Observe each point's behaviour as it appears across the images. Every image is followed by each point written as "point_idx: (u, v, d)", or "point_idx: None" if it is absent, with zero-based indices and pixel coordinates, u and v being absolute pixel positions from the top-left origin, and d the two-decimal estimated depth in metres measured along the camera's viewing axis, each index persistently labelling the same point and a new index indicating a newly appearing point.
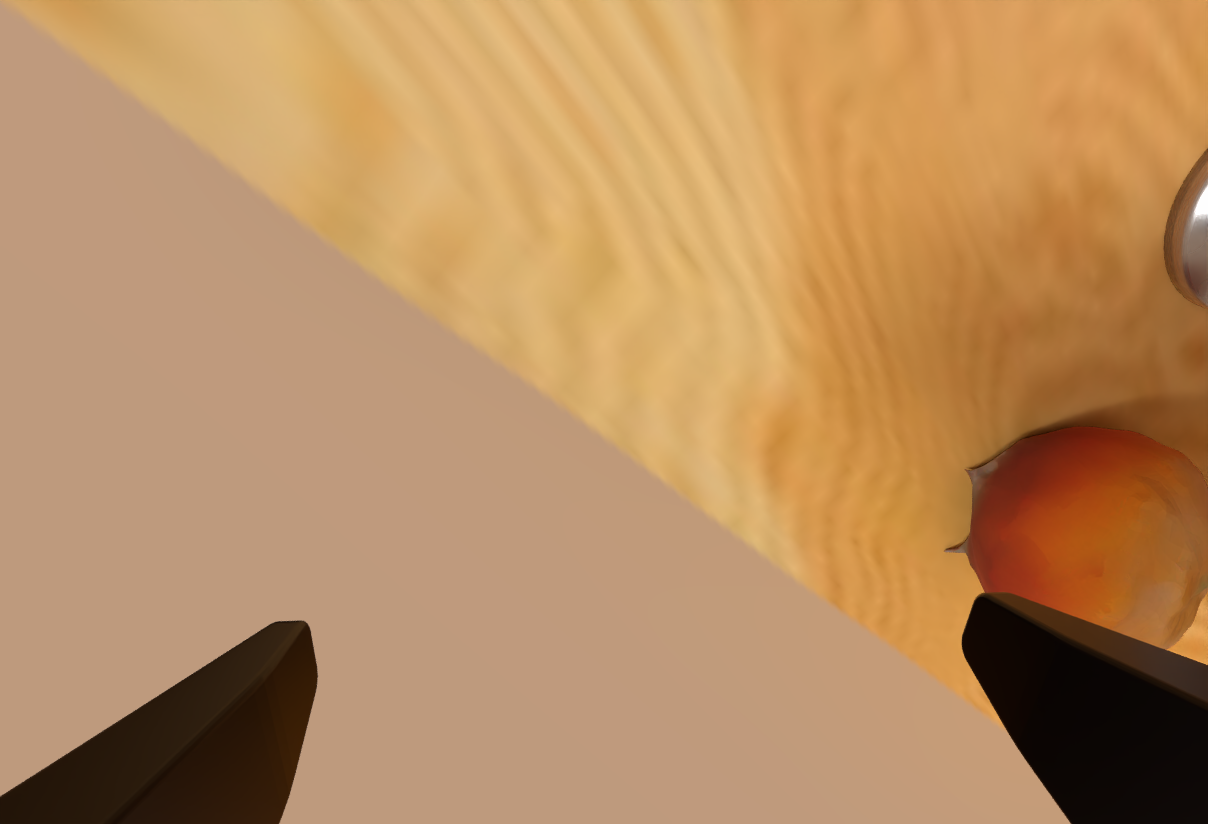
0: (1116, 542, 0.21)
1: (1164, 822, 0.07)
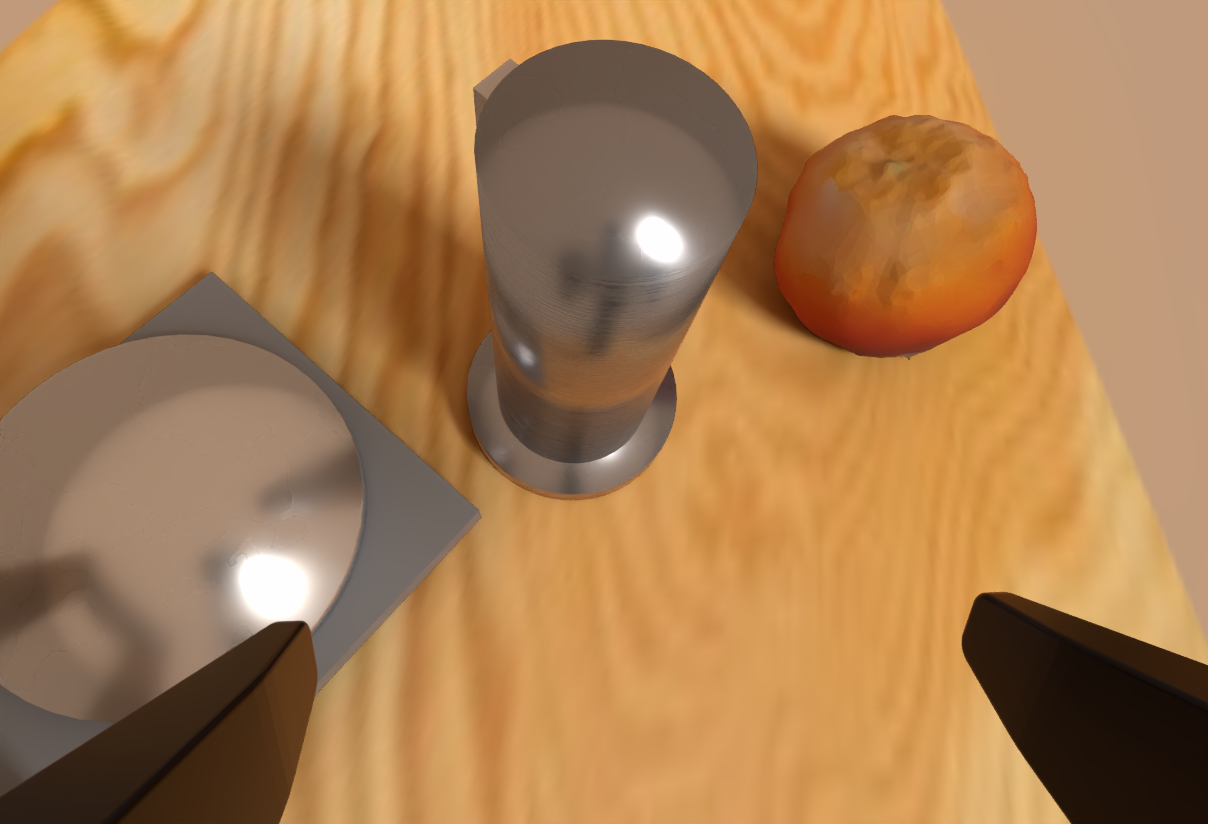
0: (963, 276, 0.21)
1: (1164, 822, 0.07)
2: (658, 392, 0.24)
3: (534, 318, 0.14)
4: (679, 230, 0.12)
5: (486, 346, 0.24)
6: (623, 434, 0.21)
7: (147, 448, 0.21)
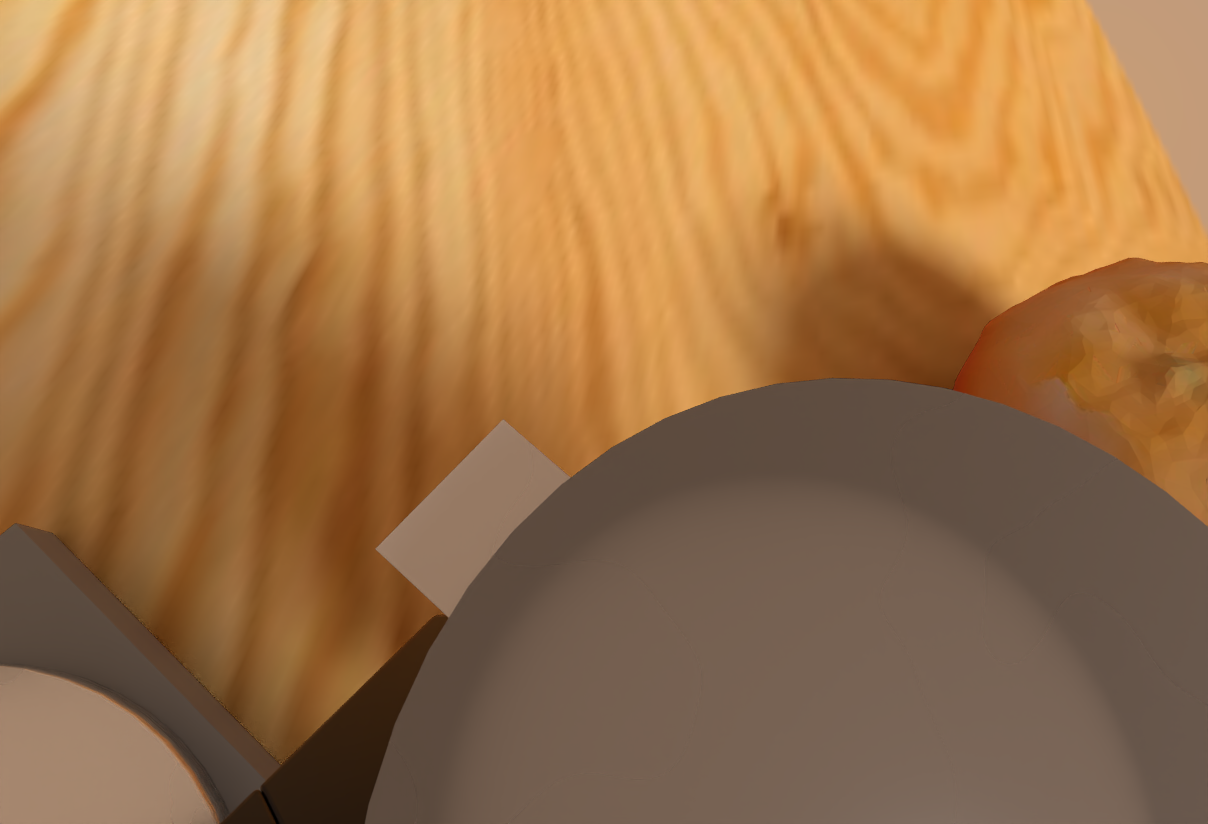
0: None
1: None
2: None
3: None
4: None
5: None
6: None
7: None
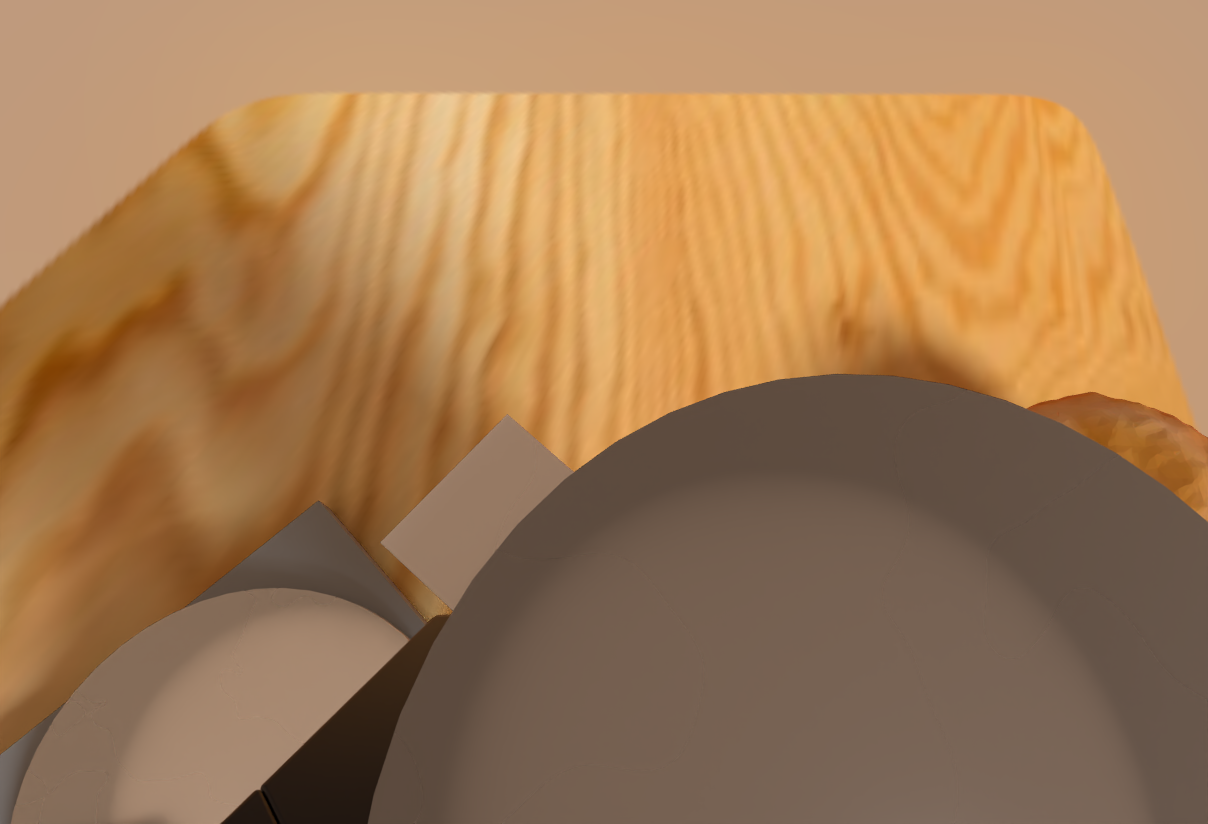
0: None
1: None
2: None
3: None
4: None
5: None
6: None
7: (237, 730, 0.19)
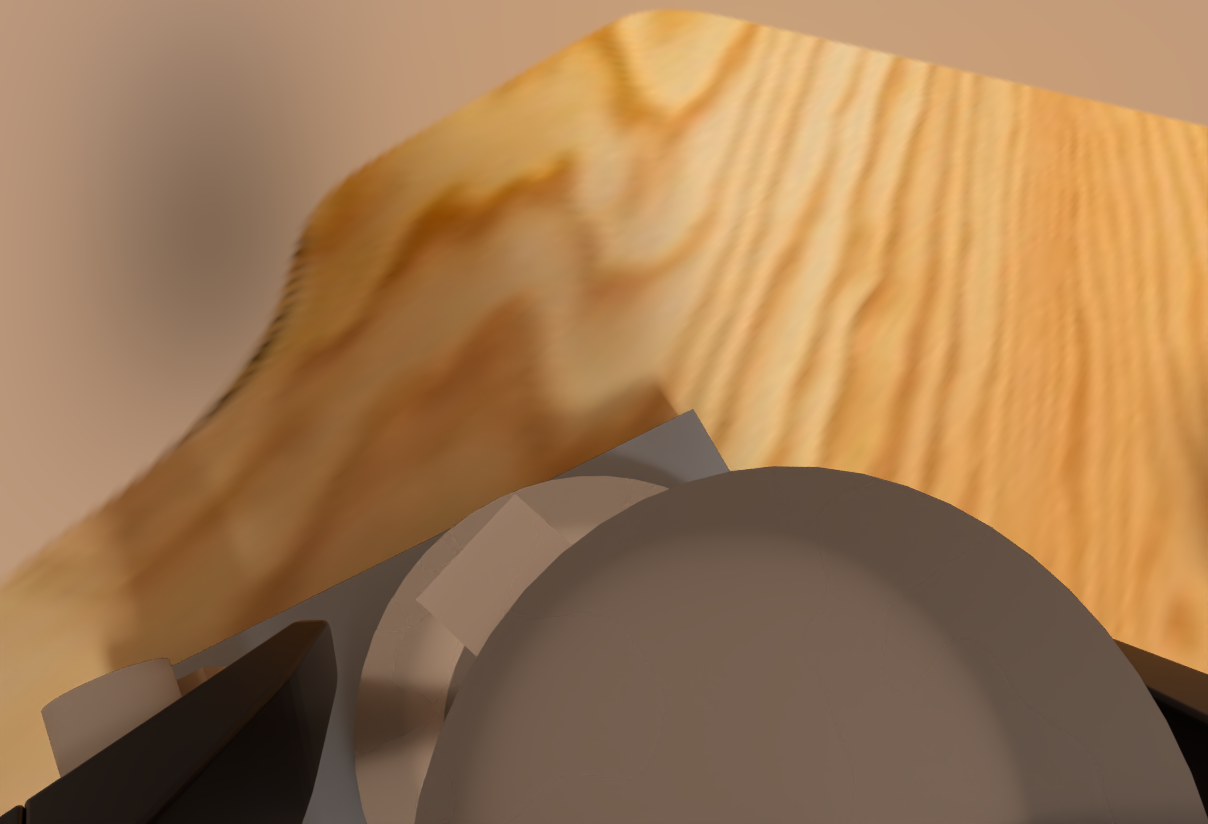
0: None
1: None
2: None
3: None
4: None
5: None
6: None
7: None
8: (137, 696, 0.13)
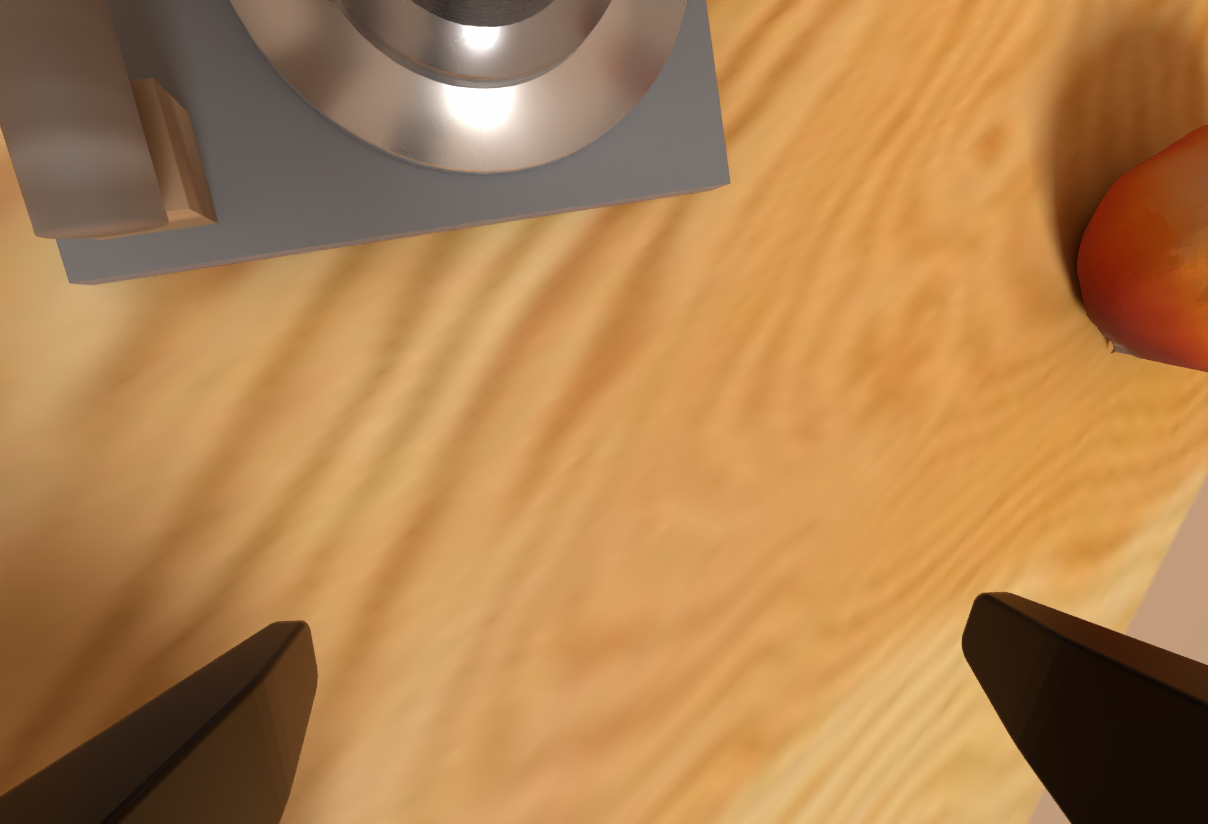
0: None
1: (1164, 822, 0.07)
2: None
3: None
4: None
5: None
6: None
7: None
8: None
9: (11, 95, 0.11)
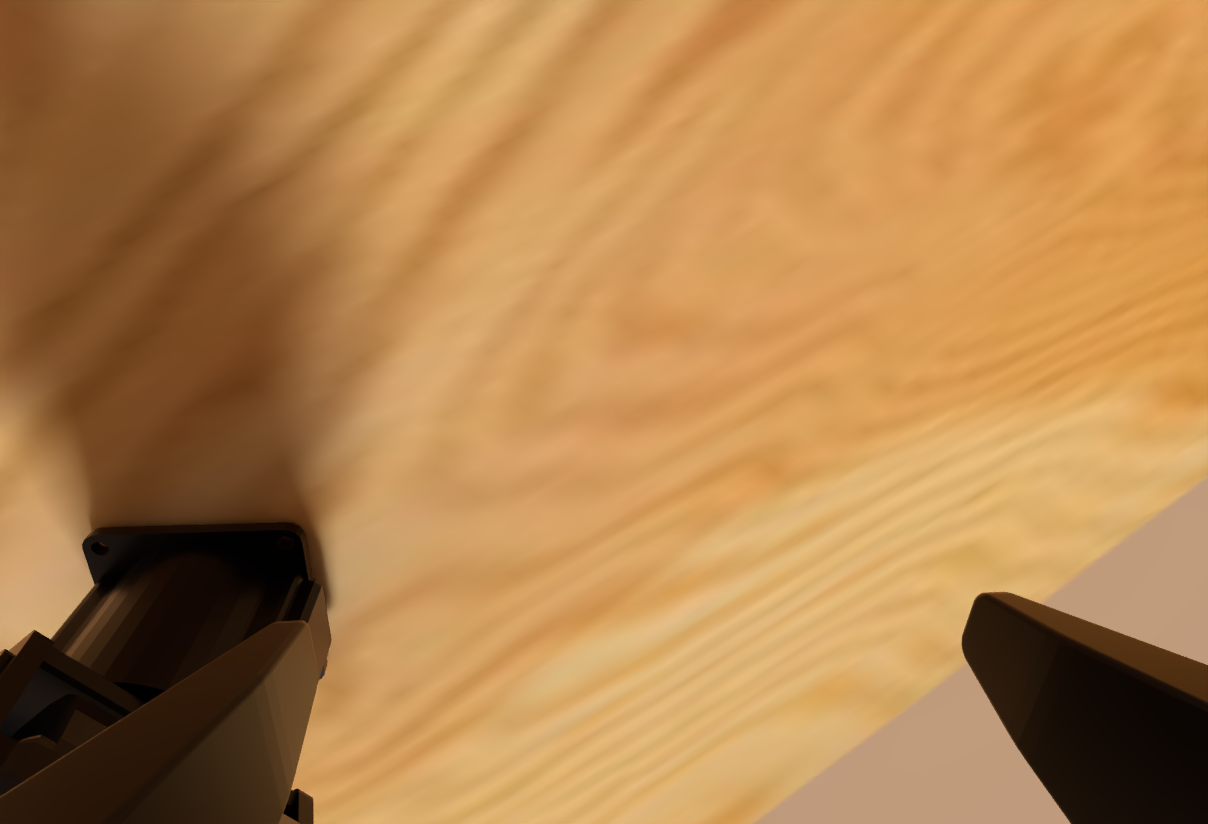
0: None
1: (1164, 822, 0.07)
2: None
3: None
4: None
5: None
6: None
7: None
8: None
9: None
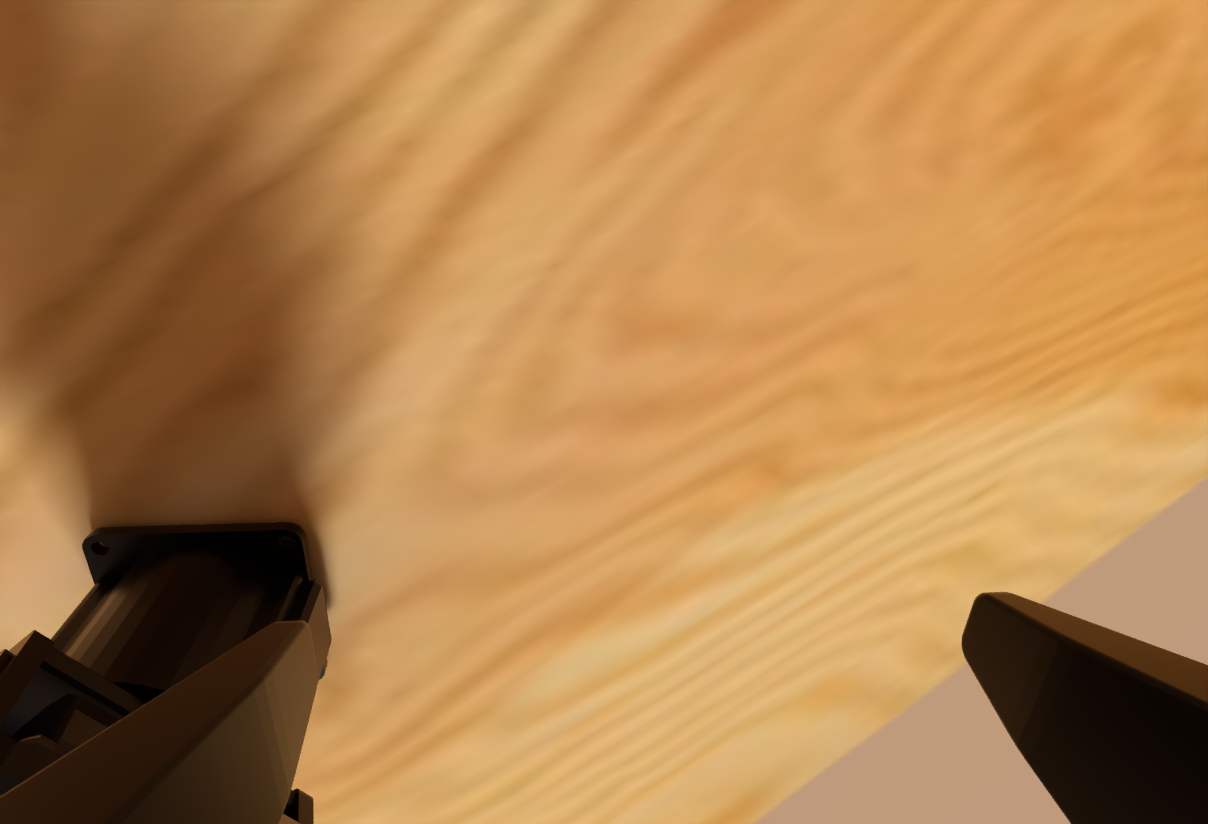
0: None
1: (1164, 822, 0.07)
2: None
3: None
4: None
5: None
6: None
7: None
8: None
9: None
